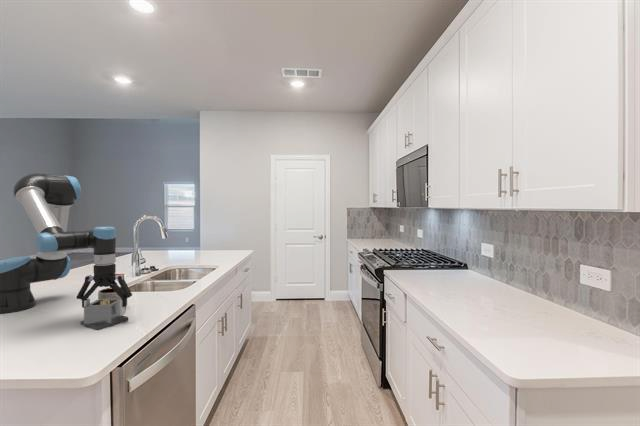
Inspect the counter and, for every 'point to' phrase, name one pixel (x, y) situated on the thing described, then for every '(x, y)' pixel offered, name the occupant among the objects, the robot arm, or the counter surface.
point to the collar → (102, 312)
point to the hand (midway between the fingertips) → (104, 314)
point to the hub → (104, 325)
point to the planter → (108, 294)
